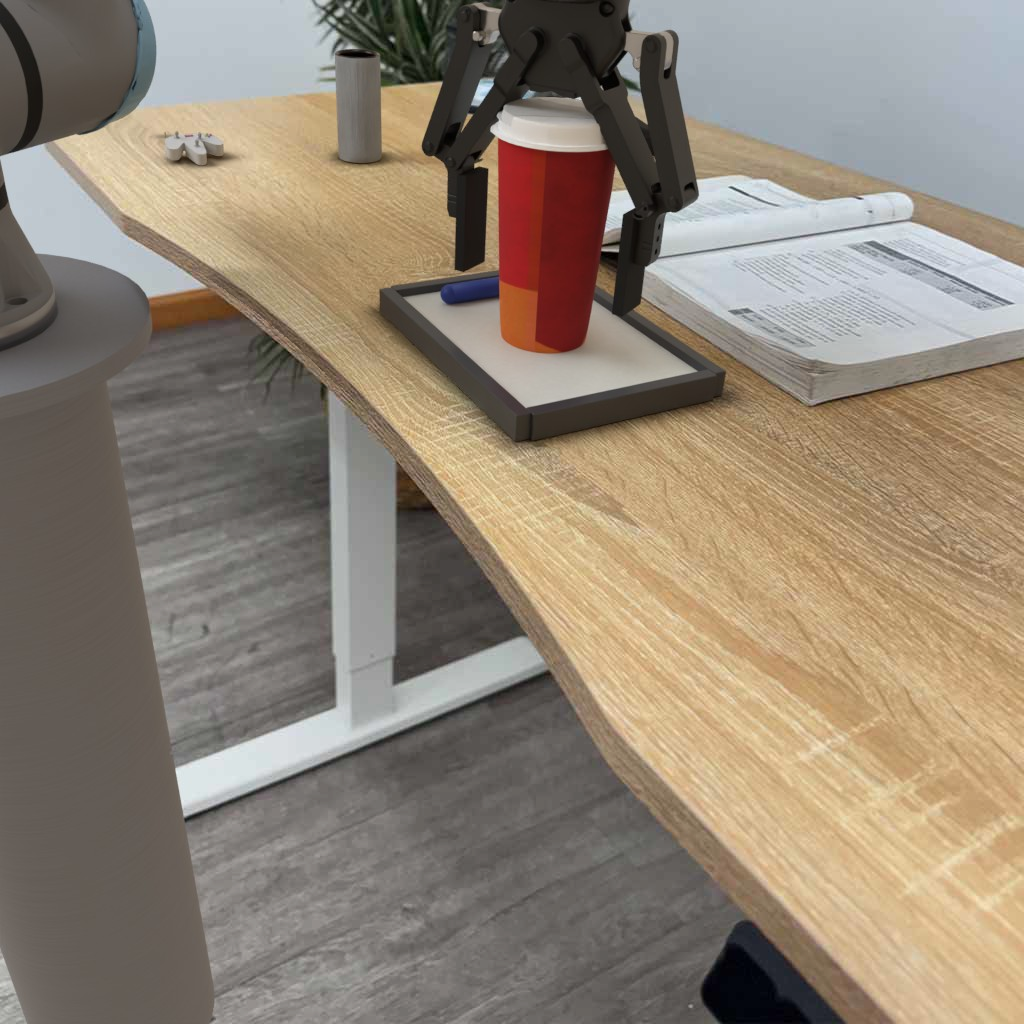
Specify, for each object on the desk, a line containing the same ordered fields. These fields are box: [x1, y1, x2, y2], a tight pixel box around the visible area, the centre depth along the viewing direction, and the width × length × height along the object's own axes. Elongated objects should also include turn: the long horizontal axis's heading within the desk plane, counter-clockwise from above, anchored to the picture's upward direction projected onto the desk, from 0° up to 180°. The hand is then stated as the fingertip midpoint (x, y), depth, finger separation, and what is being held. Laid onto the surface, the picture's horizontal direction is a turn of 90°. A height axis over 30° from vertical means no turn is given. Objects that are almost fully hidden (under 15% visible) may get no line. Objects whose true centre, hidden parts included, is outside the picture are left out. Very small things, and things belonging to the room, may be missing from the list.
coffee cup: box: [490, 96, 616, 353], centre depth 69 cm, size 8×8×15 cm
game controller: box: [164, 130, 225, 166], centre depth 109 cm, size 6×12×3 cm, turn 51°
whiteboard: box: [378, 269, 727, 443], centre depth 73 cm, size 22×16×3 cm
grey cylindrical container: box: [334, 48, 383, 164], centre depth 109 cm, size 4×4×10 cm
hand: (545, 286), depth 72 cm, fingers open, 11 cm apart
